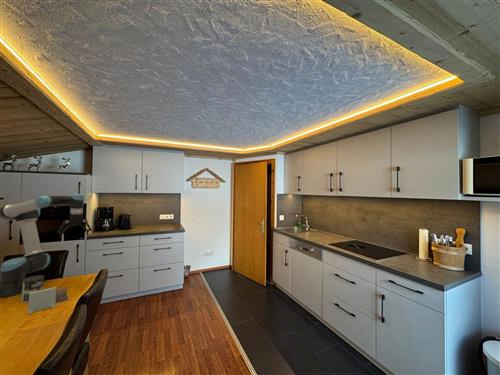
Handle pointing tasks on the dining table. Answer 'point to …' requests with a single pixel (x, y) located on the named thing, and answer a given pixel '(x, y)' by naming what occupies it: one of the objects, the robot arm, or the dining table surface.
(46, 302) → the screen
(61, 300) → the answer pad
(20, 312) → the dining table surface
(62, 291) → the brown cube
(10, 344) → the dining table surface
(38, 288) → the coffee can
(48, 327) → the dining table surface
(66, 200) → the robot arm
